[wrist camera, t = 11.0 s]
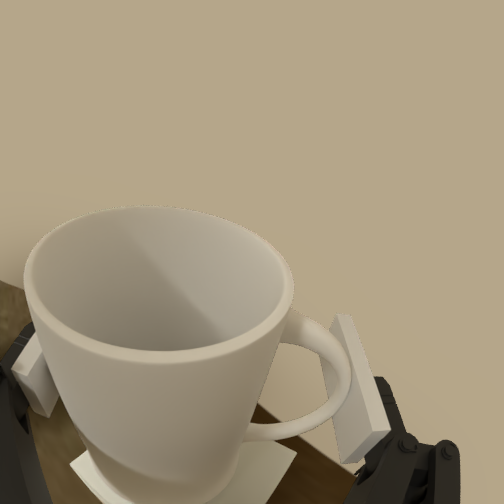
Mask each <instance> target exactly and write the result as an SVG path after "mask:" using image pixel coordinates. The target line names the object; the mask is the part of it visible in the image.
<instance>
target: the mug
mask: <svg viewBox="0 0 504 504" xmlns="http://www.w3.org/2000/svg"><path fill="white" fill-rule="evenodd" d="M24 289H25V295H26V299H27V303H28V307H29V310H30V314H31V317H32V321H33V324H34V327H35V330H36V334H37V337H38V340H39V343H40V346H41V348H42V351H43V354H44V357H45V360H46V362H47V365H48V368H49V370H50V373H51V375H52V378H53V380H54V382H55V385H56V387H57V390H58V392H59V394H60V396H61V399H62V401H63V403H64V405H65V407H66V409H67V412H68V414H69V416H70V418H71V420H72V422H73V424H74V426H75V428H76V430H77V432H78V433H79V435H80V437H81V439H82V441H83V443H84V445H85V446H86V448H87V452H88V456H89V459H90V461H91V464H92V466H93V468H94V470H95V472H96V473H97V475H98V476H99V477H100V479H101V480H102V481H103V482H104V483H105V485H106V486H107V487H109V488H110V489H111V490H112V491H113V492H114V493H116V494H117V495H119V496H120V497H122V498H123V499H125V500H127V501H129V502H131V503H133V504H203V503H205V502H207V501H209V500H211V499H212V498H214V497H215V496H216V495H218V494H219V493H220V492H221V491H222V490H223V489H224V488H225V487H226V486H227V485H228V483H229V482H230V480H231V479H232V477H233V475H234V473H235V470H236V468H237V464H238V459H239V448H240V446H241V443H244V442H257V441H272V440H279V439H284V438H289V437H293V436H296V435H299V434H302V433H305V432H307V431H309V430H312V429H314V428H316V427H318V426H319V425H321V424H322V423H324V422H325V421H327V420H328V419H329V418H331V417H332V416H333V415H334V414H335V413H336V412H337V411H338V410H339V408H340V407H341V406H342V404H343V403H344V401H345V399H346V397H347V395H348V392H349V389H350V385H351V367H350V363H349V359H348V356H347V354H346V352H345V350H344V348H343V347H342V345H341V344H340V342H339V341H338V340H337V339H336V337H335V336H334V335H333V334H332V333H331V332H329V331H328V330H327V329H326V328H325V327H323V326H322V325H320V324H319V323H317V322H316V321H314V320H312V319H310V318H308V317H307V316H305V315H302V314H300V313H299V312H297V311H295V310H293V309H292V308H291V305H292V301H293V296H294V281H293V276H292V273H291V270H290V268H289V266H288V264H287V262H286V261H285V259H284V258H283V257H282V255H281V254H280V253H279V252H278V251H277V250H276V249H275V248H274V247H273V246H272V245H271V244H270V243H269V242H267V241H266V240H265V239H263V238H262V237H260V236H259V235H257V234H256V233H254V232H252V231H251V230H249V229H247V228H245V227H243V226H240V225H239V224H236V223H234V222H232V221H229V220H226V219H224V218H221V217H218V216H214V215H211V214H207V213H203V212H199V211H194V210H189V209H184V208H176V207H167V206H125V207H117V208H109V209H104V210H99V211H95V212H91V213H88V214H85V215H81V216H79V217H76V218H74V219H71V220H69V221H67V222H65V223H63V224H61V225H60V226H58V227H56V228H54V229H53V230H52V231H50V232H49V233H48V234H47V235H45V236H44V237H43V238H42V239H41V240H40V241H39V242H38V243H37V244H36V246H35V247H34V248H33V250H32V251H31V253H30V255H29V257H28V259H27V262H26V265H25V269H24ZM279 342H281V343H289V344H295V345H299V346H302V347H305V348H308V349H310V350H312V351H314V352H316V353H318V354H319V355H320V356H322V357H323V358H324V359H326V360H327V361H328V362H329V363H330V364H331V366H332V367H333V368H334V370H335V372H336V375H337V385H336V388H335V390H334V392H333V394H332V395H331V397H330V398H329V399H328V400H327V401H326V402H325V403H324V404H323V405H322V406H321V407H319V408H318V409H316V410H315V411H313V412H311V413H309V414H307V415H305V416H303V417H300V418H298V419H294V420H291V421H287V422H282V423H275V424H255V423H250V420H251V418H252V415H253V413H254V410H255V407H256V405H257V402H258V399H259V397H260V394H261V391H262V388H263V386H264V383H265V380H266V378H267V375H268V372H269V369H270V367H271V364H272V361H273V358H274V355H275V353H276V350H277V347H278V344H279Z"/></svg>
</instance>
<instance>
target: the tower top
mask: <svg viewBox="0 0 504 504" xmlns="http://www.w3.org/2000/svg"><path fill="white" fill-rule="evenodd" d="M296 454H297V452H295V451H293V450H291V449H289V448H287V447H285V446H283V445H281V444H279V443H277V442H275V441H273V440H272V441H257V442H244V443H241V446H240V448H239V459H238V464H237V468H236V470H235V473H234V475H233V477H232V479H231V480H230V482H229V483H228V485H227V486H226V487H225V488H224V489H223V490H222V491H221V492H220V493H219V494H218V495H216V496H215V497H214V498H212V499H211V500H209V501H207V502H205V503H203V504H265V503H266V502H267V500H268V499H269V497H270V496H271V494H272V493H273V491H274V490H275V488H276V487H277V485H278V484H279V482H280V480H281V479H282V477H283V476H284V474H285V472H286V471H287V469H288V467H289V466H290V464H291V463H292V461H293V459H294V457H295V456H296ZM70 466H71V467H72V468H73V469H74V471H75V472H76V473H77V475H78V476H79V477H80V478H81V479H82V481H83V482H84V483H85V484H86V485H87V487H88V488H89V489H90V490H91V491H92V492H93V493H94V494H95V495H96V496H97V497H98V498H99V499H100V500H101V501H103V502H104V503H105V504H133V503H131V502H129V501H127V500H125V499H123V498H122V497H120V496H119V495H117V494H116V493H114V492H113V491H112V490H111V489H110V488H109V487H107V486H106V485H105V483H104V482H103V481H102V480H101V479H100V477H99V476H98V475H97V473H96V472H95V470H94V468H93V466H92V464H91V461H90V459H89V456H88V452H87V451H85V452H84V453H83V454H82V455H80V456H79V457H78V458H77V459H75V460H74V461H73V462H71V463H70Z"/></svg>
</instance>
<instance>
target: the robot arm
mask: <svg viewBox="0 0 504 504" xmlns="http://www.w3.org/2000/svg"><path fill="white" fill-rule="evenodd" d="M329 332H331V333H332V334H333V335H334V336H335V337H336V339H337V340H338V341H339V342H340V344H341V345H342V347H343V348H344V350H345V352H346V354H347V356H348V359H349V363H350V367H351V385H350V389H349V392H348V395H347V397H346V399H345V401H344V403H343V404H342V406H341V407H340V408H339V410H338V411H337V412H336V413H335V414H334V415H333V416H332V419H333V424H334V429H335V435H336V440H337V445H338V451H339V456H340V461H341V464H348V463H358V462H359V461H360V460H361V459H362V458H363V457H364V458H365V462H366V463H365V465H363V466H362V467H361V468H360V469H359V470H358V471H356V473H355V474H354V475H357V474H358V473H359V475H358V477H357V478H356V480H355V482H354V484H353V486H352V488H351V490H350V492H349V494H348V495H347V497H346V499H345V501H344V502H343V504H460V454H459V450H458V448H457V446H456V445H455V444H454V443H453V442H452V441H449V440H442V441H440V442H439V443H437V444H436V445H435V446H434V445H427V444H422V443H419V442H418V440H417V439H416V438H415V437H414V436H413V435H411V434H410V433H407V432H406V430H405V427H404V424H403V421H402V418H401V415H400V413H399V410H398V407H397V404H396V401H395V399H394V397H393V393H392V391H391V388H390V385H389V384H388V383H387V381H386V380H385V379H384V378H383V377H373V374H372V371H371V369H370V366H369V363H368V360H367V357H366V354H365V352H364V349H363V346H362V344H361V341H360V338H359V336H358V333H357V331H356V328H355V325H354V323H353V320H352V317H351V315H347V314H339V313H336V315H335V318H334V320H333V322H332V324H331V327H330V329H329ZM319 357H320V361H321V366H322V371H323V375H324V380H325V385H326V390H327V394H328V399H329V398H330V397H331V395H332V394H333V392H334V390H335V388H336V385H337V375H336V372H335V370H334V368H333V367H332V366H331V364H330V363H329V362H328V361H327V360H326V359H324V358H323V357H322V356H320V355H319ZM59 395H60V394H59V392H58V390H57V387H56V385H55V382H54V380H53V378H52V375H51V373H50V370H49V368H48V365H47V362H46V360H45V357H44V354H43V351H42V348H41V346H40V343H39V340H38V337H37V334H36V330H35V327H34V324H33V321H32V322H31V323H29V324H28V325H26V326H25V327H24V328H23V330H22V331H21V333H20V334H19V337H17V338H16V340H15V341H14V343H13V344H12V345H11V347H10V348H9V350H8V351H7V353H6V354H5V356H4V357H3V359H2V360H1V362H0V504H53V502H52V500H51V497H50V494H49V491H48V488H47V485H46V482H45V479H44V476H43V473H42V469H41V466H40V462H39V459H38V455H37V451H36V447H35V443H34V439H33V435H32V430H31V425H30V420H29V415H28V413H27V411H26V410H27V408H28V406H29V404H30V406H31V408H32V409H33V411H34V412H35V413H38V414H40V415H42V416H45V417H47V418H49V417H50V415H51V413H52V411H53V408H54V406H55V404H56V402H57V400H58V397H59Z"/></svg>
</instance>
